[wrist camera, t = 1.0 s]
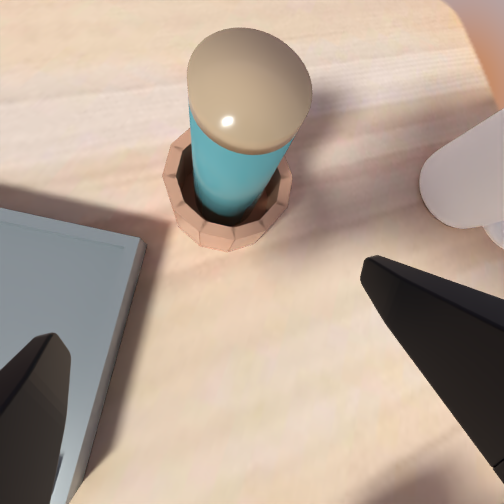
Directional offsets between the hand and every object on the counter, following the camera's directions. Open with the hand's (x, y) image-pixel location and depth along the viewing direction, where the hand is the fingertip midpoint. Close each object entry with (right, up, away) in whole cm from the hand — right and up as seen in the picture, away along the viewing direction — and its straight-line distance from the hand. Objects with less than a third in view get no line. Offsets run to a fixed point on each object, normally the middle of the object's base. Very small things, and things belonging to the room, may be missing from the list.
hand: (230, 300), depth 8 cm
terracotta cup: (-2, +6, +15) cm, 16 cm away
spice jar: (-2, +6, +14) cm, 15 cm away
